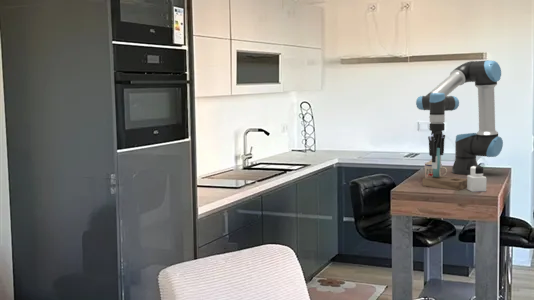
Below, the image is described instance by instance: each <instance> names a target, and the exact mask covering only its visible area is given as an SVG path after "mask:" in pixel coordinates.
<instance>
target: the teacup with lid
mask: <svg viewBox="0 0 534 300" xmlns="http://www.w3.org/2000/svg"><path fill="white" fill-rule="evenodd" d="M442 169H444V171H445V173H443V174H442ZM447 172H448V169H447V167H445V166H442V163H441V168H440V173H439V176H443V177H445V175H447ZM431 176H433V169H432V158H431V159H430V160H429V161H427V162H425V163H424V178H427V177H431Z"/></svg>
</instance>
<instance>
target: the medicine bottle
mask: <svg viewBox="0 0 534 300" xmlns="http://www.w3.org/2000/svg"><path fill="white" fill-rule="evenodd" d="M466 179H467V188H466V190H467V191H469V192H472V193H475V192H477V193H478V192H479V193H481V192H487V177H486V176H484V167H483V166H480V165H478V166H472V167H471V168H470V174H467V176H466Z"/></svg>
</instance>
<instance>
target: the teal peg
mask: <svg viewBox="0 0 534 300" xmlns="http://www.w3.org/2000/svg"><path fill="white" fill-rule="evenodd" d="M436 156H437V169H433V177H439V173H440V148H437V154H436Z"/></svg>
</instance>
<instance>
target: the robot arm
mask: <svg viewBox="0 0 534 300" xmlns="http://www.w3.org/2000/svg"><path fill="white" fill-rule="evenodd" d="M501 77H502V69H501V66H500V64H499V62H497V61H496V60H487V59H486V60H474V61H473V60H469V61H467V62H464V63H462V64H460V65H459V66H457V67H456V68H454V69H453V70H452V71H451V72H450V74H449V76H448V77H446V78H445V79H444V80H443V81H441V82H440V83H439V84H438V85H437V86H436V87H434V88H433V89H432V90H431V91H429V92H428V93H427V94H426V95H422V96H421V95H420V96H417V99H416V101H415V105H416V108H417V109H418V110H419V111H420V110H421V111H429V117H428V118H429V128H428V129H429V131H430V132H431V133H430V135H429V136H428V137H427V139H428V154H429V156H430V157H431V159H432V169H437V156H436V154H437V148H440V168H441V167H442V165H441V164H442V156H444V154H445V140H446V135H445V134H443V131H445V127H446V126H445V122H446V120H445V119H446V117H445V116H446V114H445V112H446V111H449V112H452V111H455V110H457V109H458V107H460V100H459V99H458V97H457V96H454V95H450V94H451V93H452V92H453V91H454V90H456V89H457V88H458V87H459V86H462V85H464V84H466V83H474V86H475V87H476V88H477V95H478V96H477V98H478V131H477V132H470V133H461V134H457V135H456V136H455V141H454V142H455V146H454V147H455V150H454V152H455V154H454V155H455V157H454V158H455V160H454V163H453V165H452V168H451V173H452V174H459V175H471V174H470V168H471V167H472V166H479V164H478V161H477V157H486V158H496V157H497V156H499V155H500V154H501V153H502V152H501V151H502V150H503V146H504V142H503V138H502V137H500V136H499V132H498V131H497V130H496V114H495V113H496V110H495V109H496V108H495V107H496V105H495V103H496V102H495V88H496V86H497V85H498V82H499V81H501ZM441 169H442V168H441Z"/></svg>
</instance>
